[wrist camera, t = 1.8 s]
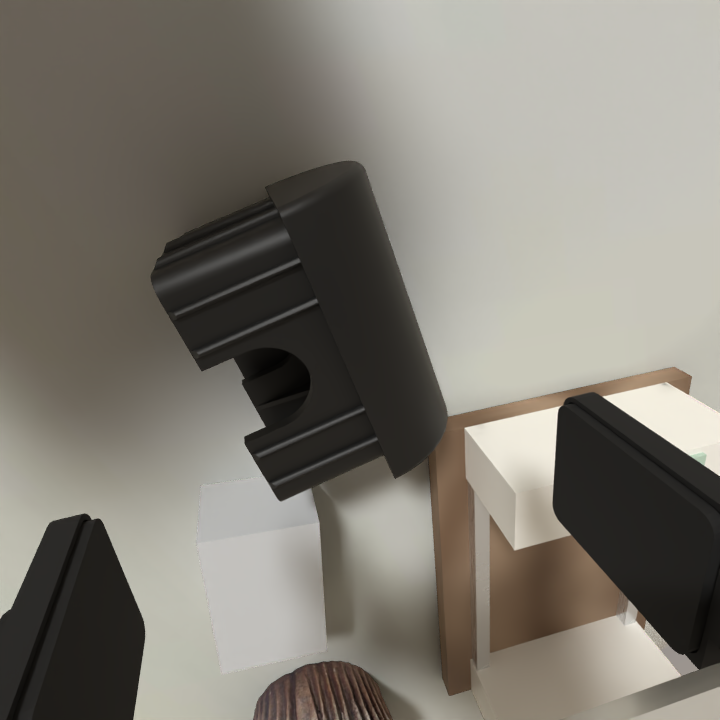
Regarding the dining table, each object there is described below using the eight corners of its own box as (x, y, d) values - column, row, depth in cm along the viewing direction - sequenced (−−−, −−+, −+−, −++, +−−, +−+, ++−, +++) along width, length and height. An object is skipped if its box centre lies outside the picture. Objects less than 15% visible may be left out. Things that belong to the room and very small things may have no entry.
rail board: (674, 366, 28) (692, 376, 26) (630, 620, 36) (642, 635, 35) (426, 421, 25) (434, 434, 24) (442, 678, 34) (449, 696, 33)
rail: (664, 382, 26) (676, 389, 26) (621, 642, 35) (630, 653, 34) (466, 427, 25) (473, 436, 24) (472, 688, 33) (477, 701, 32)
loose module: (306, 466, 25) (319, 522, 22) (315, 586, 28) (327, 651, 25) (201, 482, 24) (196, 543, 21) (222, 604, 28) (221, 674, 24)
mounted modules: (666, 382, 26) (759, 436, 22) (623, 642, 35) (683, 720, 30) (464, 427, 25) (518, 496, 20) (471, 689, 33) (510, 780, 28)
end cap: (415, 367, 24) (475, 446, 18) (276, 429, 24) (290, 530, 18) (337, 153, 20) (384, 163, 14) (165, 226, 19) (134, 270, 13)
